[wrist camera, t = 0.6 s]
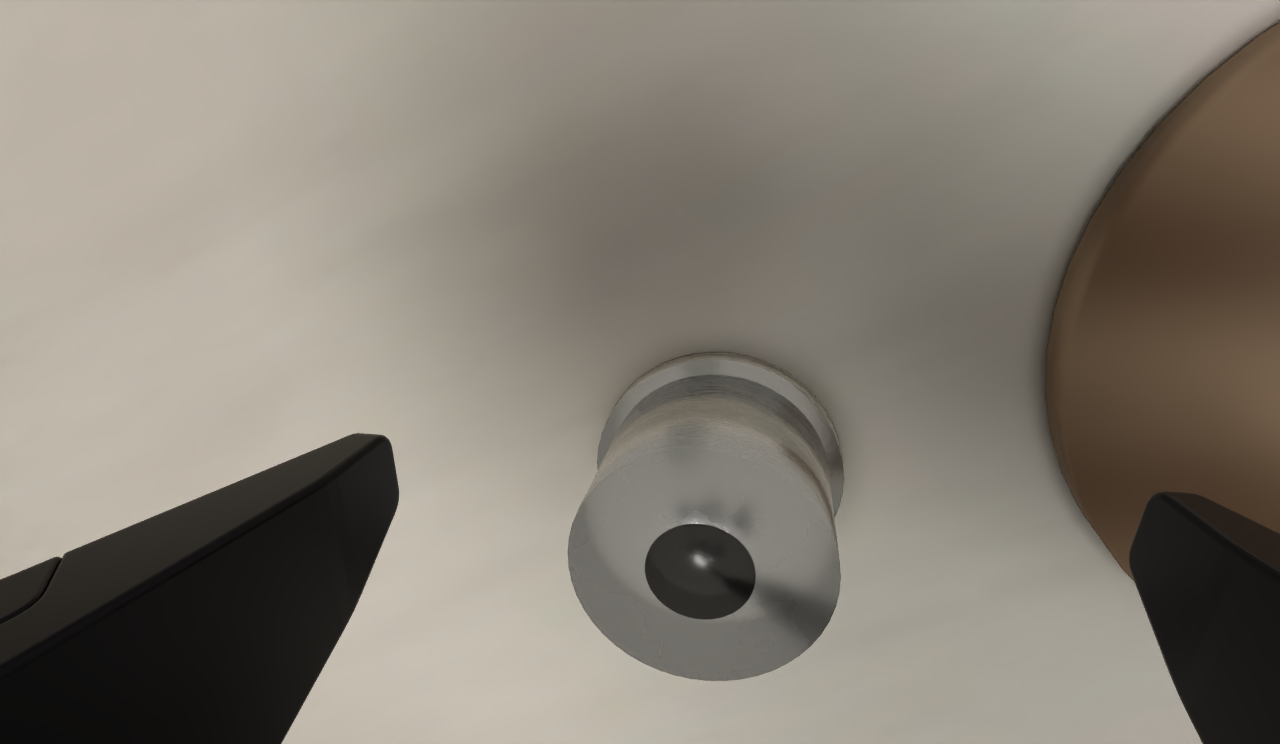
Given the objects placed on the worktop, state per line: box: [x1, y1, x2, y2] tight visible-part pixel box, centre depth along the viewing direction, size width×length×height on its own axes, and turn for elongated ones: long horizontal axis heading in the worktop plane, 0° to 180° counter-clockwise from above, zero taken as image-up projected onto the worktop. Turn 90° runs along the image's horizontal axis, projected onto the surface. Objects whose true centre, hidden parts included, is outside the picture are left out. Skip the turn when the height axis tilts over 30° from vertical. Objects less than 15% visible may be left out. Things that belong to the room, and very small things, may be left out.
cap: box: [568, 352, 844, 681], centre depth 20 cm, size 7×7×6 cm
